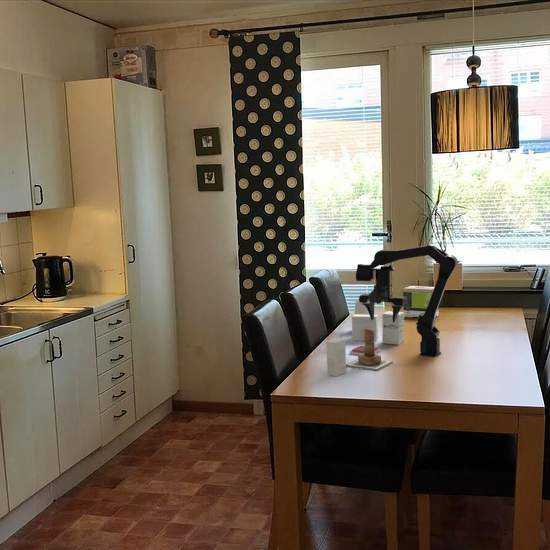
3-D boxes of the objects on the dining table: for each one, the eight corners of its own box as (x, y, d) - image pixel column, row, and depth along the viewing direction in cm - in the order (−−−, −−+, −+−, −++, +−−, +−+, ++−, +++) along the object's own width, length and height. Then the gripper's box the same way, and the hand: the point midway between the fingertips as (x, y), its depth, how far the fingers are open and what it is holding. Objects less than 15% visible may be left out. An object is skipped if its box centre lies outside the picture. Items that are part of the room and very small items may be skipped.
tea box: (439, 316, 343) (439, 286, 342) (432, 319, 335) (432, 289, 333) (410, 313, 351) (410, 285, 350) (402, 317, 343) (402, 287, 341)
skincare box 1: (336, 370, 246) (335, 337, 244) (346, 372, 243) (345, 339, 242) (326, 374, 241) (325, 341, 240) (336, 376, 238) (336, 342, 237)
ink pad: (380, 351, 272) (380, 347, 272) (370, 356, 265) (370, 352, 265) (360, 349, 277) (359, 345, 277) (349, 354, 270) (349, 349, 270)
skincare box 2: (378, 338, 297) (378, 314, 296) (376, 341, 291) (376, 316, 290) (354, 337, 300) (353, 313, 299) (351, 340, 294) (351, 316, 292)
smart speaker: (378, 332, 309) (378, 301, 308) (360, 334, 306) (360, 302, 304) (368, 328, 318) (367, 298, 316) (350, 330, 315) (349, 299, 313)
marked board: (393, 362, 255) (393, 361, 255) (377, 371, 244) (377, 369, 244) (361, 358, 262) (361, 357, 262) (345, 366, 251) (345, 364, 251)
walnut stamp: (371, 360, 257) (371, 327, 256) (381, 363, 252) (381, 330, 250) (358, 362, 254) (357, 329, 253) (367, 366, 249) (367, 332, 248)
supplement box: (381, 343, 287) (381, 313, 285) (387, 339, 293) (387, 310, 292) (399, 345, 283) (399, 314, 282) (404, 341, 290) (404, 311, 288)
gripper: (351, 283, 268) (352, 322, 270) (396, 286, 258) (396, 327, 260) (365, 279, 278) (365, 318, 280) (408, 282, 267) (408, 322, 269)
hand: (383, 321), depth 272 cm, fingers open, 9 cm apart
